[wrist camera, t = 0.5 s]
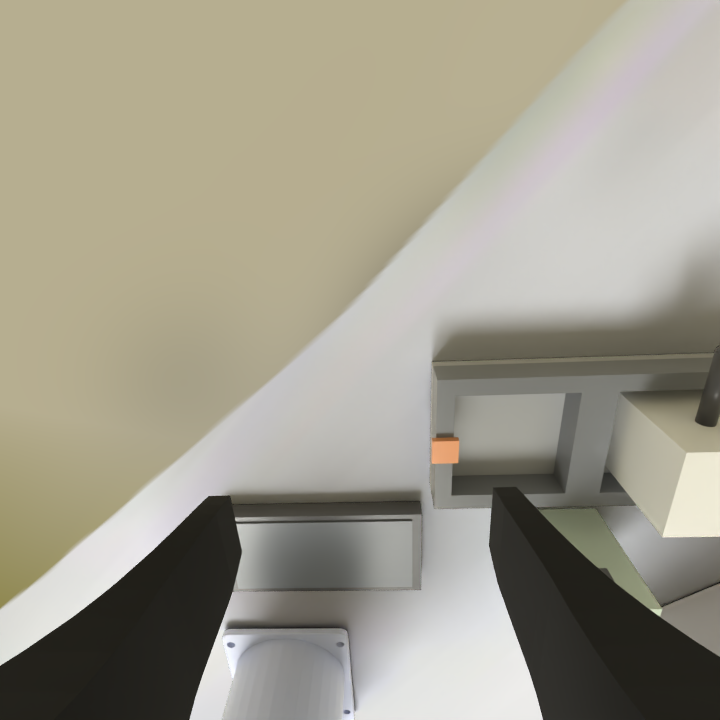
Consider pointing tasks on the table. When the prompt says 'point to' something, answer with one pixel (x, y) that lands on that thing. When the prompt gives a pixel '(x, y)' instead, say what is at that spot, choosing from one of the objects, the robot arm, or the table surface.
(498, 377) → the grey double frame
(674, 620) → the game console
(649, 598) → the block
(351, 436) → the table surface
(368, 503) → the phone
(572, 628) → the robot arm
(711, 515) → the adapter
